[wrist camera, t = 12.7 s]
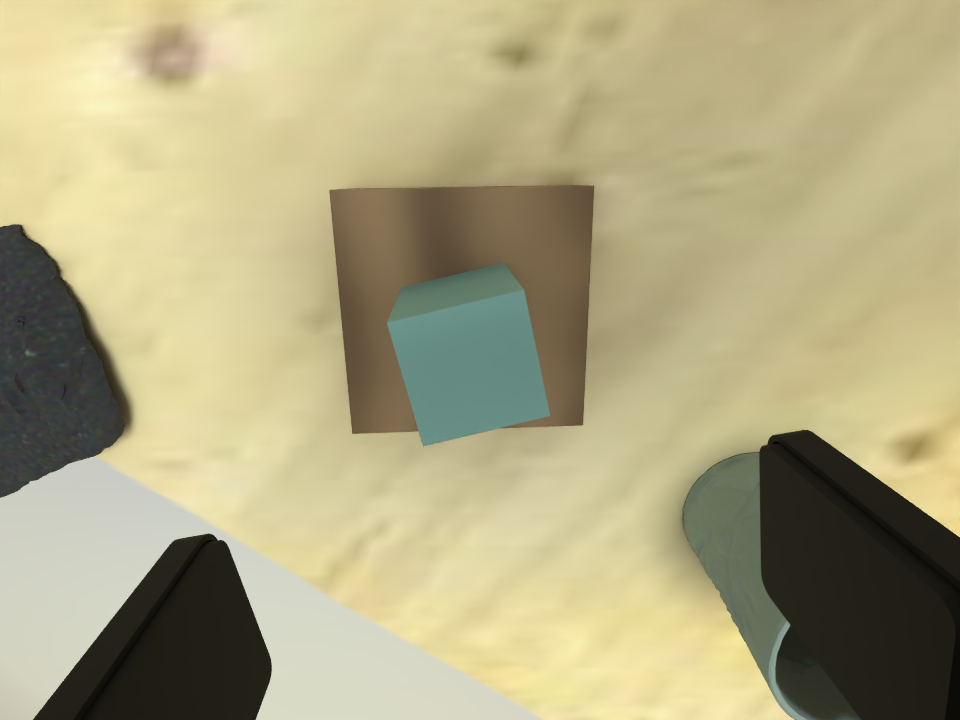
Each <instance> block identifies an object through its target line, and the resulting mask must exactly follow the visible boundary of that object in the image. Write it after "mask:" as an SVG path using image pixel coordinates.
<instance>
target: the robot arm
mask: <svg viewBox="0 0 960 720" xmlns="http://www.w3.org/2000/svg"><path fill="white" fill-rule="evenodd" d="M759 474H760V544H761V577H762V582H763V585H764V587H765V590H766V592H767V594H768V595H769V597H770V598H771V600H772V601H773V602H774V604H775V605H776V606H777V608H778V609H779V610H780V612H781V613H782V614H783V616H784V617H785V619H786V620H787V621H788V623H789V624H790V625H791V627H792V628H793V629H794V631H795V632H796V633H797V635H798V636H799V637H800V639H801V640H802V641H803V643H804V644H805V645H806V647H807V648H808V649H809V651H810V652H811V653H812V655H813V656H814V657H815V659H816V660H817V661H818V663H819V664H820V665H821V667H822V668H823V669H824V671H825V672H826V673H827V675H828V676H829V677H830V679H831V680H832V681H833V683H834V684H835V685H836V687H837V688H838V690H839V691H840V692H841V694H842V695H843V696H844V698H845V699H846V700H847V702H848V703H849V704H850V706H851V707H852V708H853V710H854V711H855V712H856V714H857V715H858V716H859V718H860V719H861V720H960V537H958V536H957V535H956V534H954V533H953V532H951V531H950V530H949V529H947V528H946V527H944V526H943V525H942V524H940V523H939V522H937V521H936V520H935V519H933V518H932V517H930V516H929V515H928V514H926V513H925V512H923V511H922V510H921V509H919V508H918V507H916V506H915V505H914V504H912V503H911V502H909V501H908V500H907V499H905V498H904V497H902V496H901V495H900V494H898V493H897V492H895V491H894V490H893V489H891V488H890V487H888V486H887V485H886V484H884V483H883V482H881V481H880V480H879V479H877V478H876V477H874V476H873V475H872V474H870V473H869V472H867V471H866V470H865V469H863V468H862V467H860V466H859V465H858V464H856V463H855V462H853V461H852V460H851V459H849V458H848V457H846V456H845V455H844V454H842V453H841V452H839V451H838V450H837V449H835V448H834V447H832V446H831V445H830V444H828V443H827V442H825V441H824V440H823V439H821V438H820V437H818V436H817V435H816V434H814V433H813V432H811V431H809V430H801V431H795V432H790V433H784V434H778V435H773V436H771V437H770V438H769V441H768V445H765V446H762V447H761V449H760V452H759ZM271 671H272V665H271V658H270V655H269V652H268V650H267V647H266V645H265V642H264V639H263V637H262V634H261V631H260V629H259V626H258V624H257V621H256V618H255V616H254V613H253V610H252V608H251V605H250V603H249V600H248V597H247V595H246V592H245V589H244V587H243V584H242V581H241V579H240V576H239V574H238V571H237V568H236V566H235V563H234V561H233V558H232V555H231V553H230V550H229V547H228V546H227V544H226V543H225V542H224V541H222V540H219V541H218V540H217V538H216V537H215V536H214V535H212V534H205V535H199V536H193V537H187V538H181V539H177V540H175V541H173V542H172V543H171V544H170V545H169V547H168V548H167V549H166V550H165V552H164V553H163V554H162V556H161V557H160V558H159V559H158V561H157V562H156V563H155V565H154V566H153V567H152V569H151V570H150V571H149V572H148V573H147V575H146V576H145V577H144V579H143V580H142V581H141V583H140V584H139V585H138V586H137V588H136V589H135V590H134V592H133V593H132V594H131V595H130V597H129V598H128V599H127V600H126V602H125V603H124V604H123V605H122V607H121V608H120V609H119V611H118V612H117V613H116V614H115V616H114V617H113V618H112V620H111V621H110V622H109V623H108V625H107V626H106V627H105V628H104V630H103V631H102V632H101V633H100V635H99V636H98V637H97V639H96V640H95V641H94V642H93V644H92V645H91V646H90V648H89V649H88V650H87V652H86V653H85V654H84V655H83V656H82V658H81V659H80V661H79V662H78V663H77V664H76V665H75V667H74V668H73V669H72V671H71V672H70V673H69V675H68V676H67V677H66V678H65V679H64V681H63V682H62V683H61V685H60V686H59V687H58V689H57V690H56V691H55V692H54V694H53V695H52V696H51V697H50V699H49V700H48V701H47V702H46V704H45V705H44V706H43V708H42V709H41V710H40V711H39V713H38V714H37V715H36V716H35V718H34V719H33V720H256V717H257V714H258V712H259V709H260V706H261V704H262V701H263V698H264V695H265V693H266V690H267V687H268V685H269V682H270V678H271Z"/></svg>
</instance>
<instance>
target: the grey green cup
mask: <svg viewBox="0 0 960 720" xmlns="http://www.w3.org/2000/svg"><path fill="white" fill-rule="evenodd" d="M683 514H684V517H683V523H684V530H685V534H686V537H687V539H688V541H689V543H690V545H691V547H692V549H693V551H694V552H695V554H696V556H697V557H698V558H699V559H700V562H701V564H702V565H703V567H704V569H705V571H706V573H707V575H708V576H709V578H710V579H711V580H712V582H713V583H714V584H715V587H716V589H718V590H719V591H720V595H721V598H722V600H723V602H724V603H725V604H726V606H727V610H728V611H729V613H730V614H731V618H732V620H733V622H734V623H735V624H736V626H737V627H738V629H739V632H740V634H741V636H742V638H743V639H744V641H745V642H746V644H747V646H748V648H749V650H750V652H751V654H752V656H753V658H754V659H755V661H756V663H757V665H758V667H759V669H760V671H761V673H762V675H763V677H764V678H765V680H766V682H767V684H768V686H769V688H770V690H771V692H772V694H773V695H774V697H775V699H776V701H777V702H778V704H779V705H780V707H781V708H782V709H783V710H784V711H785V712H786V713H787V714H788V715H789V716H790V717H792V718H793V719H795V720H861V719H860V718H859V716H858V715H857V714H856V712H855V711H854V710H853V708H852V707H851V706H850V704H849V703H848V702H847V700H846V699H845V698H844V696H843V695H842V694H841V692H840V691H839V690H838V688H837V687H836V685H835V684H834V683H833V681H832V680H831V679H830V677H829V676H828V675H827V673H826V672H825V671H824V669H823V668H822V667H821V665H820V664H819V663H818V661H817V660H816V659H815V657H814V656H813V655H812V653H811V652H810V651H809V649H808V648H807V647H806V645H805V644H804V643H803V641H802V640H801V639H800V637H799V636H798V635H797V633H796V632H795V631H794V629H793V628H792V627H791V625H790V624H789V623H788V621H787V620H786V619H785V617H784V616H783V614H782V613H781V612H780V610H779V609H778V608H777V606H776V605H775V604H774V602H773V601H772V600H771V598H770V597H769V595H768V594H767V592H766V590H765V587H764V585H763V582H762V577H761V544H760V474H759V453H747V454H741V455H737V456H733V457H730V458H728V459H726V460H724V461H722V462H720V463H718V464H716V465H715V466H713V467H712V468H710V469H709V470H708V471H707V472H706V473H704V474H703V475H702V476H701V477H700V478H699V479H698V481H697V482H696V483H695V484H694V485H693V486H692V488H691V490H690V493H689V495H688V497H687V499H686V502H685V506H684V507H683Z"/></svg>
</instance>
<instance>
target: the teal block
mask: <svg viewBox="0 0 960 720" xmlns="http://www.w3.org/2000/svg"><path fill="white" fill-rule="evenodd" d="M387 325H388V328H389V332H390V335H391V338H392V342H393V345H394V349H395V352H396V355H397V359H398V362H399V366H400V369H401V372H402V376H403V379H404V383H405V386H406V390H407V393H408V396H409V400H410V403H411V407H412V410H413V413H414V417H415V420H416V424H417V427H418V430H419V434H420V437H421V441H422V444H423V446H426V445H430V444H434V443H439V442H443V441H447V440H451V439H455V438H460V437H464V436H468V435H472V434H476V433H481V432H485V431H489V430H493V429H497V428H502V427H506V426H510V425H514V424H519V423H523V422H527V421H531V420H535V419H540V418H544V417H548V416H550V412H549V407H548V402H547V397H546V393H545V388H544V383H543V378H542V374H541V369H540V364H539V359H538V354H537V350H536V345H535V340H534V335H533V330H532V326H531V321H530V316H529V311H528V306H527V302H526V297H525V292H524V289H523V288H522V286H521V285H520V284H519V282H518V281H517V280H516V278H515V277H514V276H513V274H512V273H511V272H510V270H509V269H508V268H507V266H506V265H505V264H504V263H502V264H497V265H493V266H489V267H485V268H481V269H477V270H473V271H468V272H464V273H460V274H456V275H452V276H448V277H444V278H439V279H435V280H431V281H427V282H423V283H419V284H415V285H410V286H406V287H402V288H401V290H400V293H399V295H398V298H397V300H396V302H395V305H394V307H393V309H392V312H391V314H390V317H389V319H388V321H387Z"/></svg>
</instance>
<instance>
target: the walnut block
mask: <svg viewBox="0 0 960 720" xmlns="http://www.w3.org/2000/svg"><path fill="white" fill-rule="evenodd" d="M593 198H594V186H582V185H557V186H494V187H430V188H367V189H337V190H330V201H331V212H332V222H333V233H334V244H335V254H336V265H337V275H338V286H339V297H340V307H341V318H342V329H343V339H344V350H345V360H346V371H347V382H348V392H349V403H350V414H351V424H352V434H359V433H386V432H413V431H419V430H418V427H417V424H416V420H415V417H414V413H413V410H412V407H411V403H410V400H409V396H408V393H407V390H406V386H405V383H404V379H403V376H402V372H401V369H400V366H399V362H398V359H397V355H396V352H395V349H394V345H393V342H392V338H391V335H390V332H389V328H388V325H387V321H388V319H389V317H390V314H391V312H392V309H393V307H394V305H395V302H396V300H397V298H398V295H399V293H400V290H401V288H402V287H406V286H410V285H415V284H419V283H423V282H427V281H431V280H435V279H439V278H444V277H448V276H452V275H456V274H460V273H464V272H468V271H473V270H477V269H481V268H485V267H489V266H493V265H497V264H502V263H504V264H505V265H506V266H507V268H508V269H509V270H510V272H511V273H512V274H513V276H514V277H515V278H516V280H517V281H518V282H519V284H520V285H521V286H522V288H523V289H524V292H525V297H526V302H527V306H528V311H529V316H530V321H531V326H532V330H533V335H534V340H535V345H536V350H537V354H538V359H539V364H540V369H541V374H542V378H543V383H544V388H545V393H546V397H547V402H548V407H549V412H550V416H548V417H544V418H540V419H535V420H531V421H527V422H523V423H519V424H514V425H510V426H506V427H502V428H521V427H548V426H575V425H583V412H584V391H585V370H586V348H587V327H588V305H589V284H590V263H591V241H592V220H593Z"/></svg>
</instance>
